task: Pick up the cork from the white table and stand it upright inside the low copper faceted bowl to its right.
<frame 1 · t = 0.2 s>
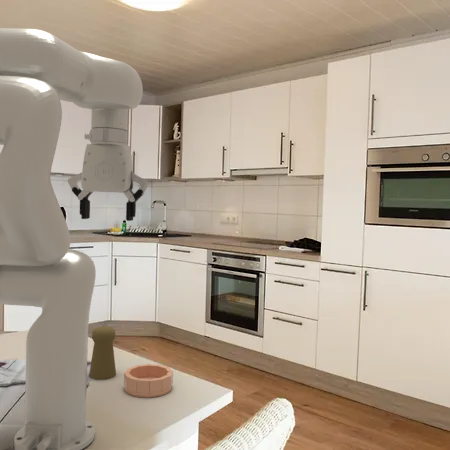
hand: (107, 219, 102), 36 cm above the table, tool pointing down, fingers open, 9 cm apart
cork: (102, 375, 109), on the table
copper faceted bowl: (148, 388, 102), on the table
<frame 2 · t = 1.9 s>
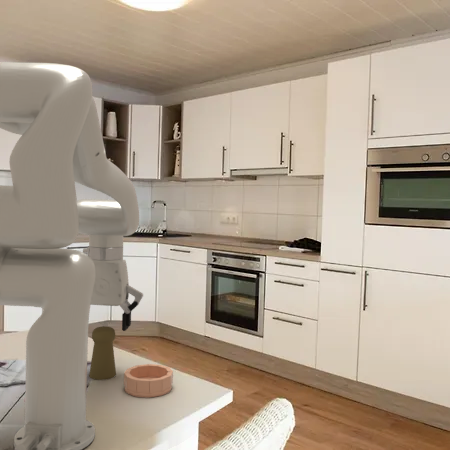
hand: (104, 328, 109), 11 cm above the table, tool pointing down, fingers open, 9 cm apart
nothing on the table moved.
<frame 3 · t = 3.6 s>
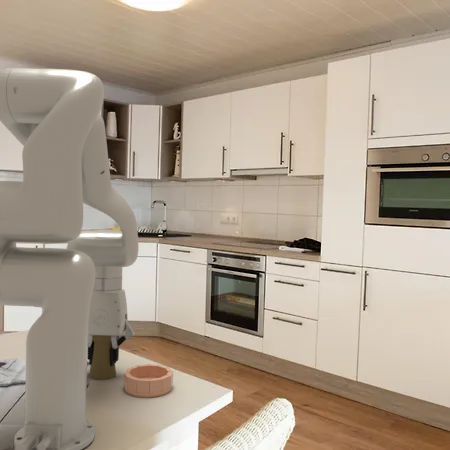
hand: (103, 362, 108), 3 cm above the table, tool pointing down, fingers closed on cork, 4 cm apart
cork: (102, 375, 109), on the table, touching gripper
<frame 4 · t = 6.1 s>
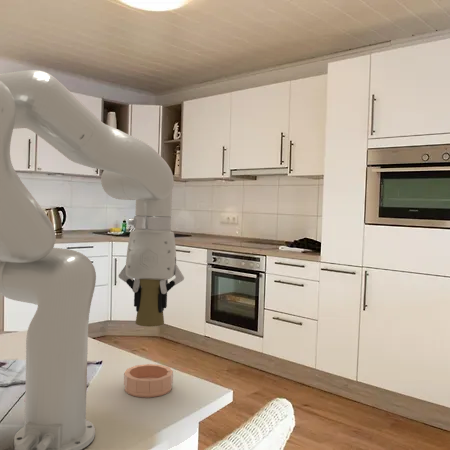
hand: (150, 309, 101), 17 cm above the table, tool pointing down, fingers closed on cork, 4 cm apart
cork: (149, 323, 101), point 14 cm above the table, touching gripper
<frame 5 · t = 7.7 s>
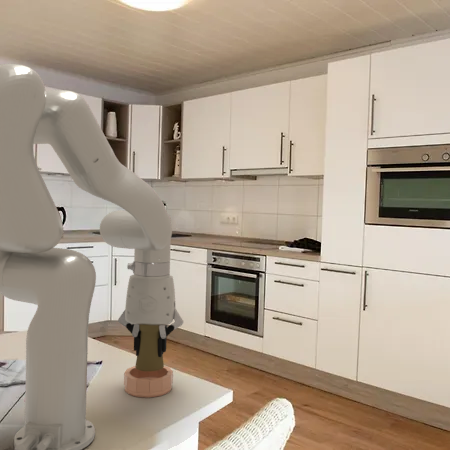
hand: (150, 353, 102), 7 cm above the table, tool pointing down, fingers closed on cork, 4 cm apart
cork: (149, 367, 102), point 4 cm above the table, touching gripper
when the fingers open (5 cm above the table, at t = 8.9 s): cork drops 1 cm, resting on copper faceted bowl.
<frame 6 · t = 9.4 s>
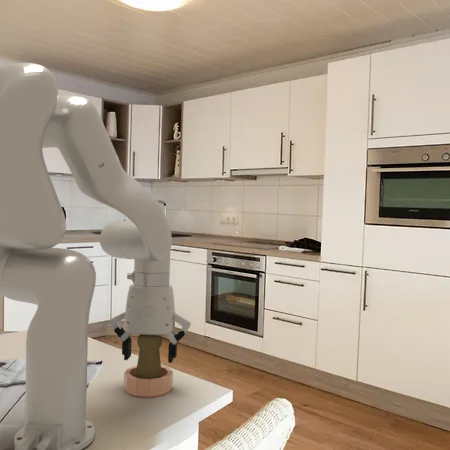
hand: (149, 359, 102), 6 cm above the table, tool pointing down, fingers open, 9 cm apart
cork: (148, 384, 102), point 1 cm above the table, touching copper faceted bowl
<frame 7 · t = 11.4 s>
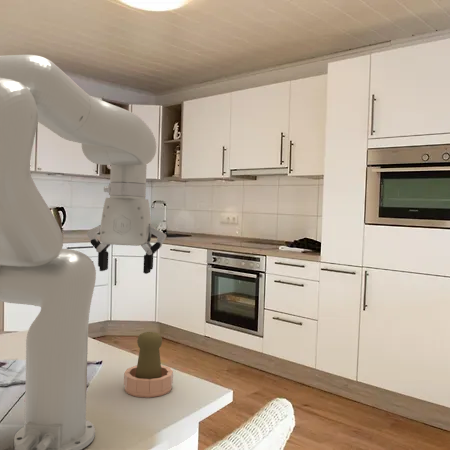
hand: (125, 271, 102), 25 cm above the table, tool pointing down, fingers open, 9 cm apart
nothing on the table moved.
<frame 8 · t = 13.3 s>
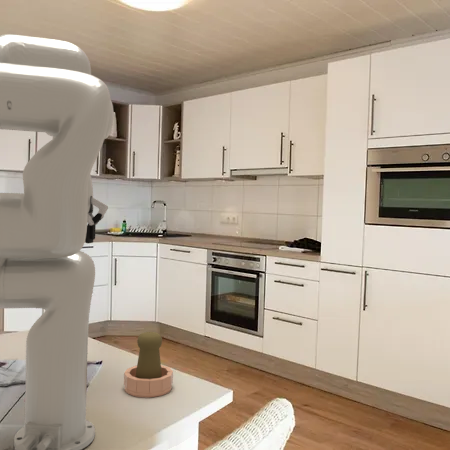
hand: (68, 242, 106), 30 cm above the table, tool pointing down, fingers open, 9 cm apart
nothing on the table moved.
at the end: cork 0.2 cm from the copper faceted bowl (horizontally); cork tilted 0°; cork touching copper faceted bowl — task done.
